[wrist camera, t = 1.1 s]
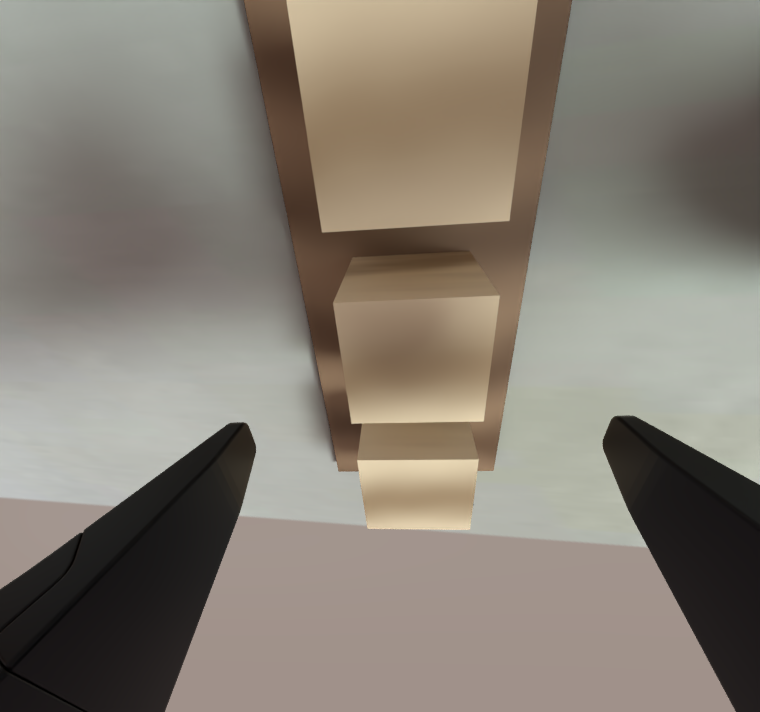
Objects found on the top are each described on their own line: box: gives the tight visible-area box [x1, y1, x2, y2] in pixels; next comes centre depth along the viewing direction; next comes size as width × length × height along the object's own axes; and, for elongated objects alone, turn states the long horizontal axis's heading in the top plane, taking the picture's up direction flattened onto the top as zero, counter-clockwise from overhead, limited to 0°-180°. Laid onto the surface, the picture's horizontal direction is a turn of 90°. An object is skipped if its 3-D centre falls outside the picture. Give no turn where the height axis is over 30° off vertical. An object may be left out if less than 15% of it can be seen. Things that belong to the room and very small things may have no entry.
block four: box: [357, 422, 479, 530], centre depth 21 cm, size 6×6×6 cm
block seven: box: [286, 0, 538, 233], centre depth 12 cm, size 6×6×6 cm
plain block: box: [333, 251, 500, 424], centre depth 16 cm, size 6×6×6 cm
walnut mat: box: [244, 0, 572, 471], centre depth 17 cm, size 36×12×1 cm, turn 4°
